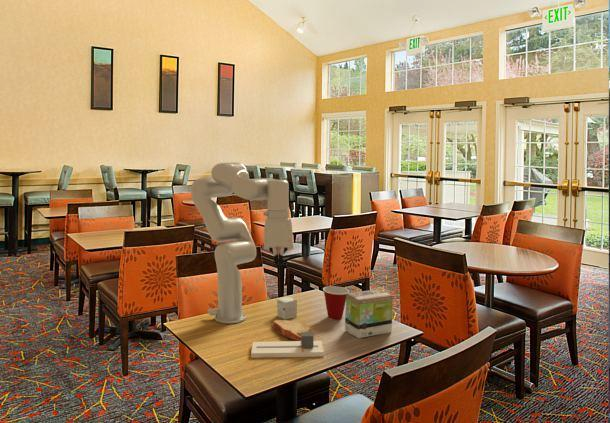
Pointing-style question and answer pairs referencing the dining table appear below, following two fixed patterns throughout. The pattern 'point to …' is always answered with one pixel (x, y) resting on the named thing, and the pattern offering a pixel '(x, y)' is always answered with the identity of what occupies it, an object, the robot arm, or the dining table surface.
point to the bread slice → (290, 329)
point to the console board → (285, 349)
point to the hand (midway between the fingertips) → (278, 265)
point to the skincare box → (287, 308)
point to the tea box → (368, 313)
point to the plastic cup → (335, 301)
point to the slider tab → (307, 339)
